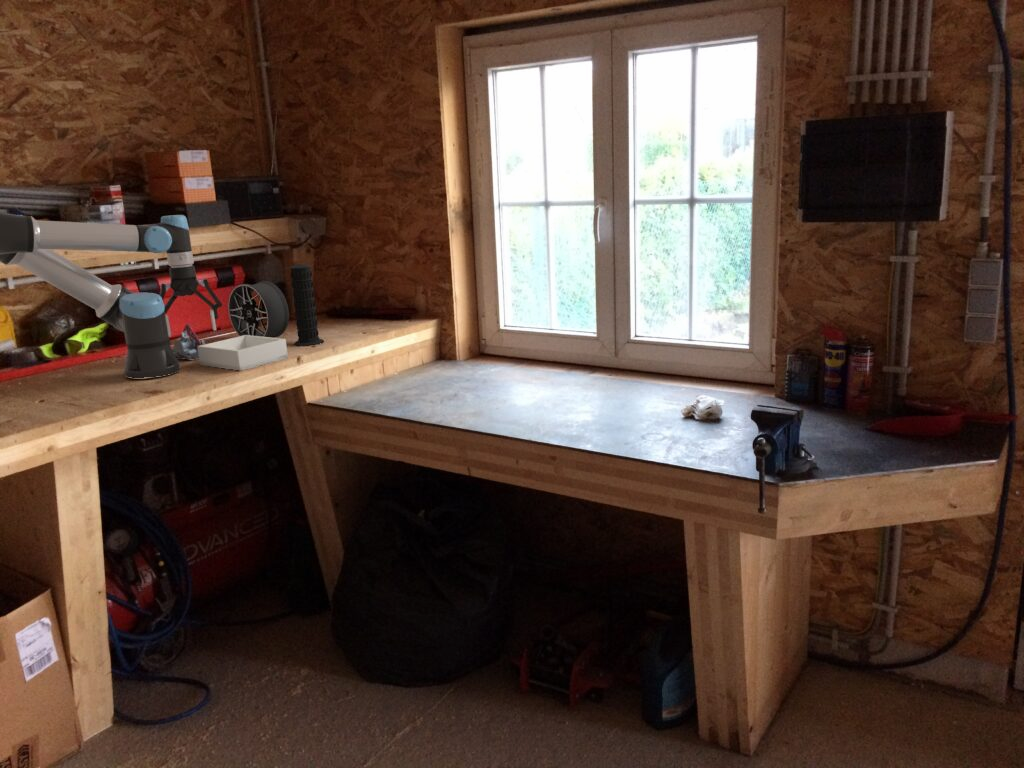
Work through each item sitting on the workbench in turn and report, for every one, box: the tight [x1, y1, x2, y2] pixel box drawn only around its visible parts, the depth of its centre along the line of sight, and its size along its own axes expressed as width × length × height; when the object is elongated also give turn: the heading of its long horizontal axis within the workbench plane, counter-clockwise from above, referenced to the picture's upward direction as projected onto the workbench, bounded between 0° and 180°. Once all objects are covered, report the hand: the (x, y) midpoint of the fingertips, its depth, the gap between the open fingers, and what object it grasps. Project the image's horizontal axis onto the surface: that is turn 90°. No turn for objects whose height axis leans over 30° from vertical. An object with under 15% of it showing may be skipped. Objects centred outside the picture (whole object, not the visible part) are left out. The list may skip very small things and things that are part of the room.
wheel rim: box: [227, 280, 290, 338], centre depth 293 cm, size 20×9×20 cm, turn 56°
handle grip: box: [289, 263, 325, 347], centre depth 283 cm, size 10×26×10 cm
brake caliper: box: [171, 323, 206, 360], centre depth 271 cm, size 11×11×12 cm
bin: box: [197, 335, 289, 372], centre depth 262 cm, size 18×19×6 cm
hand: (192, 333), depth 271 cm, fingers open, 13 cm apart
